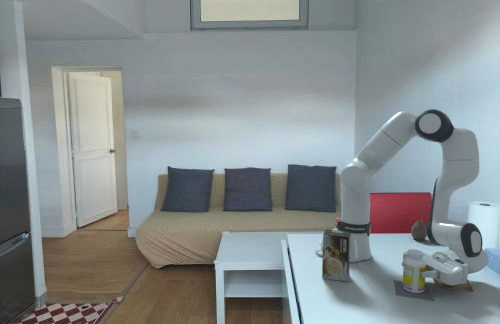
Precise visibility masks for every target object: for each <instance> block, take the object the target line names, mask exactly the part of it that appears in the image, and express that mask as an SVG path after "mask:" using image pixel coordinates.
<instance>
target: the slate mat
mask: <svg viewBox="0 0 500 324" xmlns="http://www.w3.org/2000/svg"><path fill="white" fill-rule="evenodd" d="M393 281H394V282H393V283H394V288H395V289H394V290H395V295H396V296H400V297H406V298H413V299H420V300H421V299H422V300H427V301H435V298H434V295H433V292H432V289H431V287H430V284H427V283H425V289H424V292H422V293H411V292H408V291H406V290H405V289H404V288H403V280H397V279H393Z"/></svg>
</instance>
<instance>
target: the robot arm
mask: <svg viewBox="0 0 500 324" xmlns="http://www.w3.org/2000/svg"><path fill="white" fill-rule="evenodd" d="M415 137H419V138H422V139H423V140H424V141H426V142H433V143H438V144H439V145H440V147H441V149H442V167H441V171H440V174H439V175H438V177H437V178H436V179H435V182H434V186H433V190H432V191H433V192H432V198H431V206H430V213H429V218H428V219H429V220H428V221H427V225H426V233H427V237H426V238H428V240H429V242H430V243H431V244H432V245H433V246H437V247H445V248H448V249H446V250H445V249H444V250H438V251H435V252H434V253H432V255H430V254H428V253H427V252H423V251H422V252H423V258H422V259H423V260H424V261H425V262H426V271H425V270H423V271H420V276H422V277H423V278H425V279H426V278H430V279H433V278H435V279H437V280H439V281H441V282H443V283H445V284H447V285H458V284H466V282H467V279H468V275H472V274H476V273H478V272H480V271H482V270H484V269H485V268H486V267H487V265H488V263H489V257H488V254H487V252H486V251H485V250H484V249H483V242H484V241H483V236H482V233H481V231H480V229H479V228H478V226H477V225H476V224H474V223H473V222H465V221H461V220H460V221H459V220H451V219H449V209H450V202H451V201H450V200H451V198H452V197H451V196H452V195H453V193H454V192H456V191H457V190H459V189H462V188H464V187H467V186H469V185H471V184H472V183H474V182H475V180H476V179H477V178H478V176H479V174H480V152H479V151H480V150H479V144H478V140H477V136H476V134H475V133H474V131H473V130H471V129H467V128H462V127H461V128H458V127H455V125H453V124H452V121H451V118H450V117H449V115H448V114H446V113H445V112H443V111H442V110H438V109H426V110H424V111H422V112H420V113H419V114H418V115H417V116H416V115H414V114H413V113H412V112H410V111H407V110H401V111H398V112H397V113H395V114H394V115H393V116H392V117H390V118H388V120H387V121H386V122H385V123H383V125H382V126H380V128H379V129H378V130H377V131H376V132H375V134H373V135H372V137H371V138H370V139H369V140H368V141H367V142H366V143H365V144H364V146H363V147H362V148H361V149H360V151H358V153H357V154H356V155H355V156H354V158H353V159H352V160H350V162H348V163H346V165H344V166H343V167H342V169H341V170H340V177H339V178H340V193H341V215H340V216H341V217H336V218H335V227H334V228H333V229H332V230H337V231H346V232H351V242H350V263H358V262H361V261H367V260H369V259H371V258H372V257H373V255H372V251H371V246H370V235H371V226H372V225H371V221H370V217H371V216H370V215H371V195H370V194H371V193H370V192H371V191H370V190H371V189H370V188H371V187H370V185H371V184H370V183H371V181H372V179H374V177H376V175H378V174H379V172H381V170H383V168H385V166H387V164H388V163H390V162H391V160H393V158H394V157H395V156H396V155H397V154H398V153H399V152H400V151H401V150H402V149H403V148H404V147H405V146H406V145H407V144H408V142H409V143H410V141H411V140H412V139H413V138H415ZM407 253H408V250H407V251H404V252H403V254H402V262H401V266H402V267H403V266H404V259H405V258H406V257H408V254H407ZM315 254H316V256H320V257H323V238H322V239H321V243H319V244H317V246H316V247H315Z"/></svg>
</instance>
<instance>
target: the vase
mask: <svg viewBox="0 0 500 324" xmlns="http://www.w3.org/2000/svg"><path fill="white" fill-rule="evenodd" d="M426 228H427V225H425V223H424V221H423V220H422V219H421V220H419V219H417V220H416V221H415V223H414V224H413V225H412V226H411V229H410V233H411V234H410V235H411V238H413V239H414V240H415V241H424V240H425V239H426V238H428V237H427V233H426Z"/></svg>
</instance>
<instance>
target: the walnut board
mask: <svg viewBox="0 0 500 324" xmlns="http://www.w3.org/2000/svg"><path fill="white" fill-rule="evenodd" d="M432 280H433V283H434V286H435V287H438V288H446V289H453V290H461V291H466V292H468V291H469V292H473V291H474V287H473V286H472V285H471V283H470V280H469V279H468V278H467V282H466V284H458V285H447V284H445V283H443V282H441V281H439V280H437V279H435V278H432Z"/></svg>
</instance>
